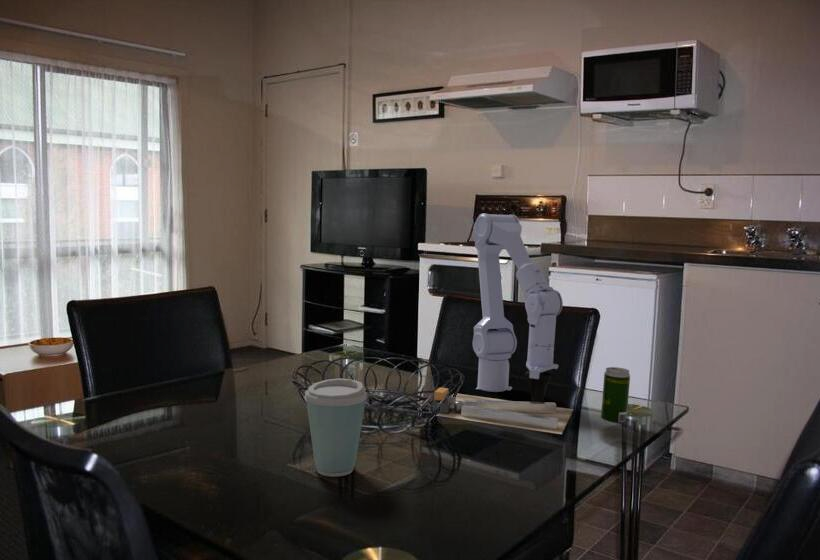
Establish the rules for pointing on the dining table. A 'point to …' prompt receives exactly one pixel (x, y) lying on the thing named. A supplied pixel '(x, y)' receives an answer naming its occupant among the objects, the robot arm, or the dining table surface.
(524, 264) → the robot arm
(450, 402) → the tongs frame
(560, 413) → the board
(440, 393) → the block
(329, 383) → the disposable coffee cup
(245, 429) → the dining table surface
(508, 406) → the bar
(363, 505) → the dining table surface
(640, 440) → the dining table surface
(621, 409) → the beer can
